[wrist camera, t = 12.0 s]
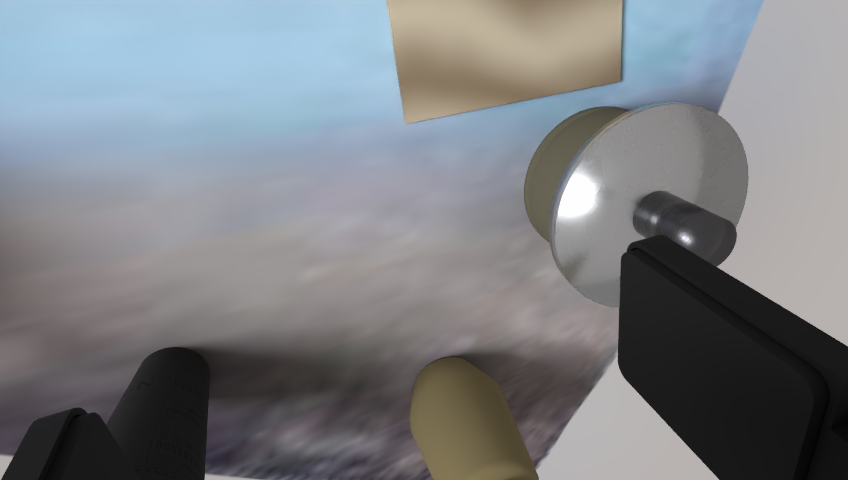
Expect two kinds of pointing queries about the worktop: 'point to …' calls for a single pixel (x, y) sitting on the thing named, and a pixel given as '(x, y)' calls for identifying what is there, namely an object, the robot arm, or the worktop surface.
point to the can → (559, 161)
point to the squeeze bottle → (466, 425)
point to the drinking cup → (165, 416)
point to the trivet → (500, 51)
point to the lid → (647, 193)
